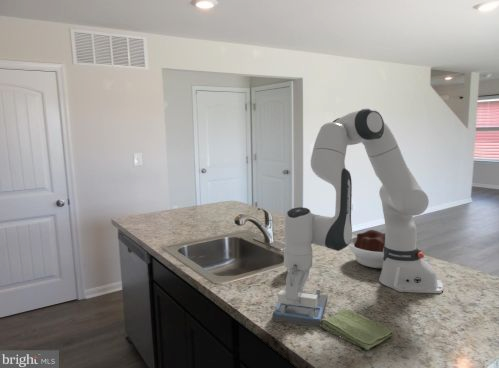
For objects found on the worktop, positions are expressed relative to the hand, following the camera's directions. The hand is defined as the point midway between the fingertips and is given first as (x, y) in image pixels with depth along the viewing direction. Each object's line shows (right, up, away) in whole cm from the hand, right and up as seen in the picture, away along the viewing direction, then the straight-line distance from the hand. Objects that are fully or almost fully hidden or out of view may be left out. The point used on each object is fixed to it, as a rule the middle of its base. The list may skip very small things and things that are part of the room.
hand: (297, 301), depth 118 cm
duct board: (+2, -4, +5) cm, 7 cm away
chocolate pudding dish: (+40, +2, +45) cm, 61 cm away
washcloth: (+16, -7, -8) cm, 19 cm away
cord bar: (0, -1, 0) cm, 1 cm away
